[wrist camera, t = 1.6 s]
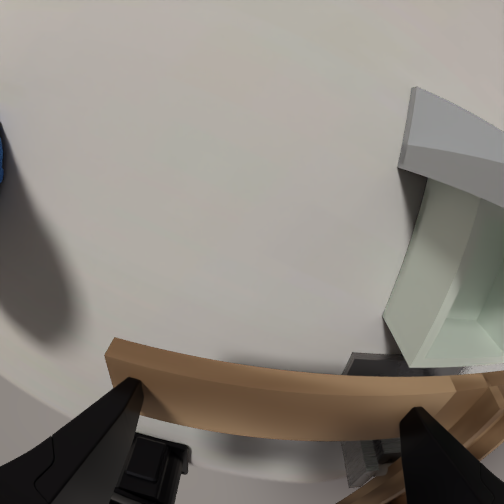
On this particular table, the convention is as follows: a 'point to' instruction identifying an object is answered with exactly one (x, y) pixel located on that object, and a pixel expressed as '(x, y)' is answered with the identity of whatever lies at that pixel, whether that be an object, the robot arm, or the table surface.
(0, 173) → the snack cup
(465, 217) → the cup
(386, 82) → the table surface
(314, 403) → the lever
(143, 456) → the robot arm
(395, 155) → the table surface
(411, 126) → the backboard
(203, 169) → the table surface
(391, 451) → the fulcrum
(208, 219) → the table surface
